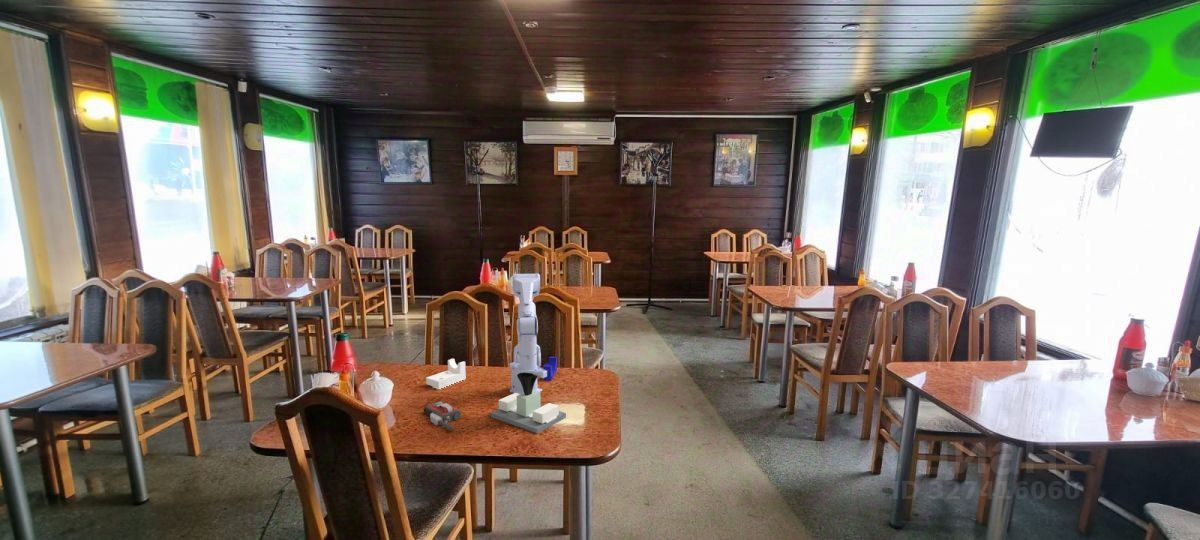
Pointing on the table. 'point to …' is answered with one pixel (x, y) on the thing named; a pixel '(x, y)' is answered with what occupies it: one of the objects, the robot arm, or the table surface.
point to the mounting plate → (533, 422)
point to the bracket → (448, 375)
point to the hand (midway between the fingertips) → (528, 394)
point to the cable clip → (550, 368)
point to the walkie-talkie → (442, 413)
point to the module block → (528, 403)
